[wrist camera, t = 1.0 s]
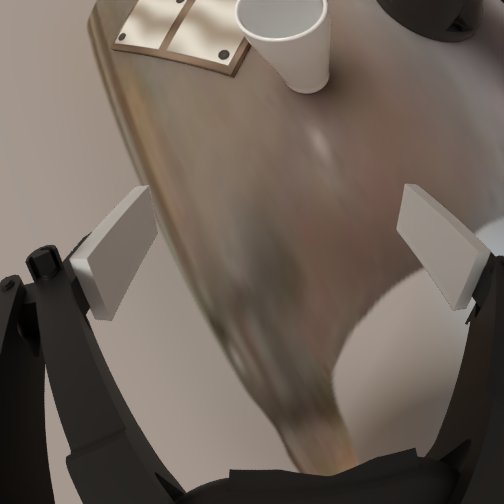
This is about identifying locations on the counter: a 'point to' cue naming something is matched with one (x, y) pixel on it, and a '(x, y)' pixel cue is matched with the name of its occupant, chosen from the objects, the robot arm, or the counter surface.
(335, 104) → the counter surface
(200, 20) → the coaster board
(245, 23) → the white cup
